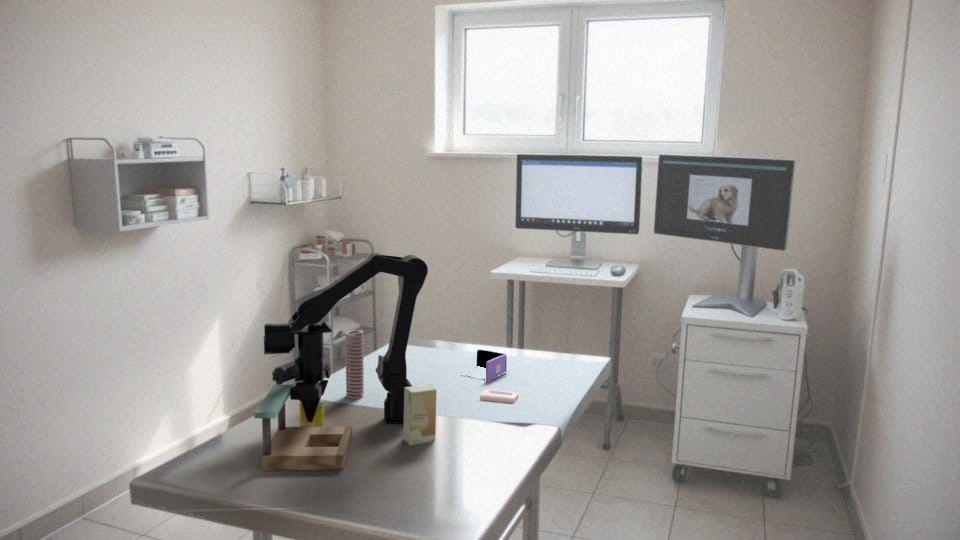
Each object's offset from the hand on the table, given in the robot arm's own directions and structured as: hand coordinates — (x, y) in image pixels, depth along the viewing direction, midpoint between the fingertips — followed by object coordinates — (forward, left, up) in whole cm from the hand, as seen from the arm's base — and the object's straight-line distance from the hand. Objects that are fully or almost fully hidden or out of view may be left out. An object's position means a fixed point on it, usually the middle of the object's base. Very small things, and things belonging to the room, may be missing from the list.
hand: (312, 417), depth 169 cm
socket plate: (-2, +15, -3) cm, 15 cm away
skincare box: (-25, +8, -3) cm, 26 cm away
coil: (-7, -22, -3) cm, 24 cm away
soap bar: (-45, -19, -3) cm, 49 cm away
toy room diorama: (-42, -40, -3) cm, 58 cm away
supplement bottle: (0, 0, -3) cm, 3 cm away
